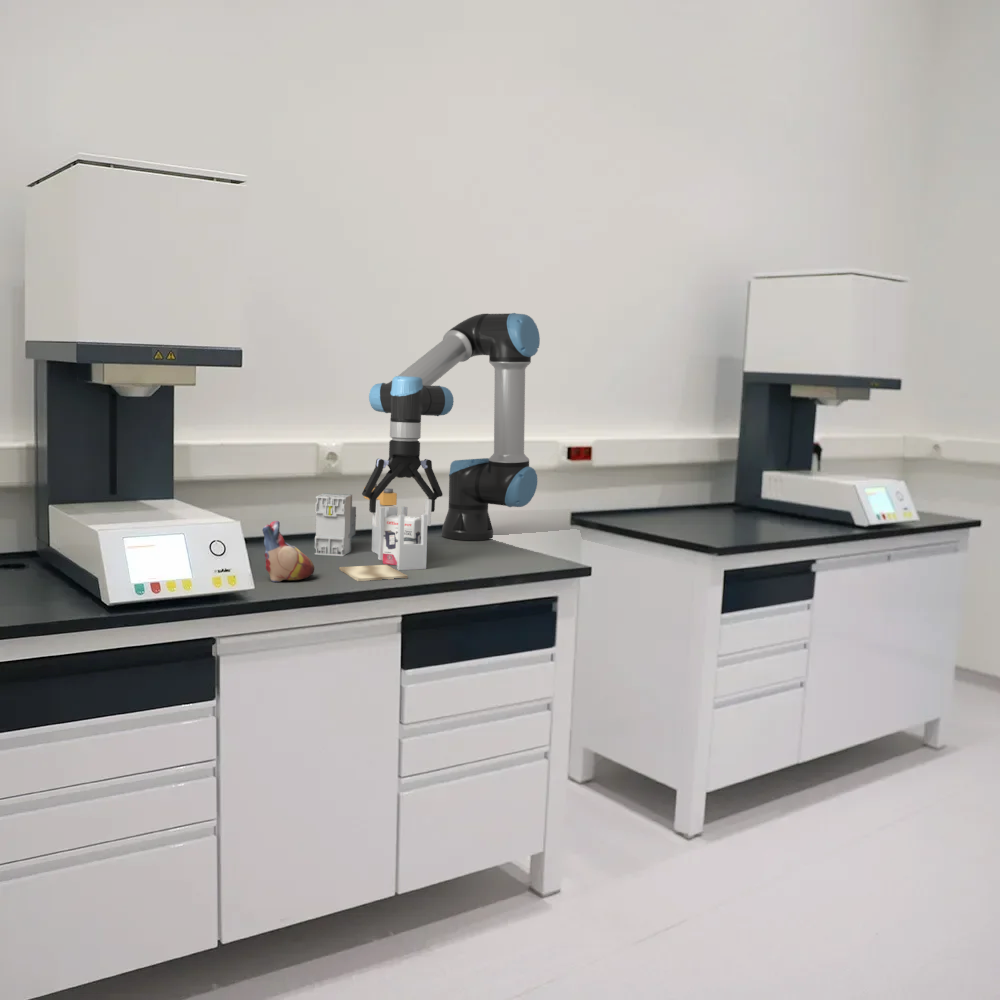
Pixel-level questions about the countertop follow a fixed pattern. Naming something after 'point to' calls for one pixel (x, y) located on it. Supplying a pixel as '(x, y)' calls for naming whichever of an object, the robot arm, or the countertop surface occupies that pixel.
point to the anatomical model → (284, 557)
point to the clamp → (401, 540)
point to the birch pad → (372, 572)
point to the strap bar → (386, 497)
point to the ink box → (391, 536)
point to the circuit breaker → (334, 524)
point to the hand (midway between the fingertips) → (401, 525)
